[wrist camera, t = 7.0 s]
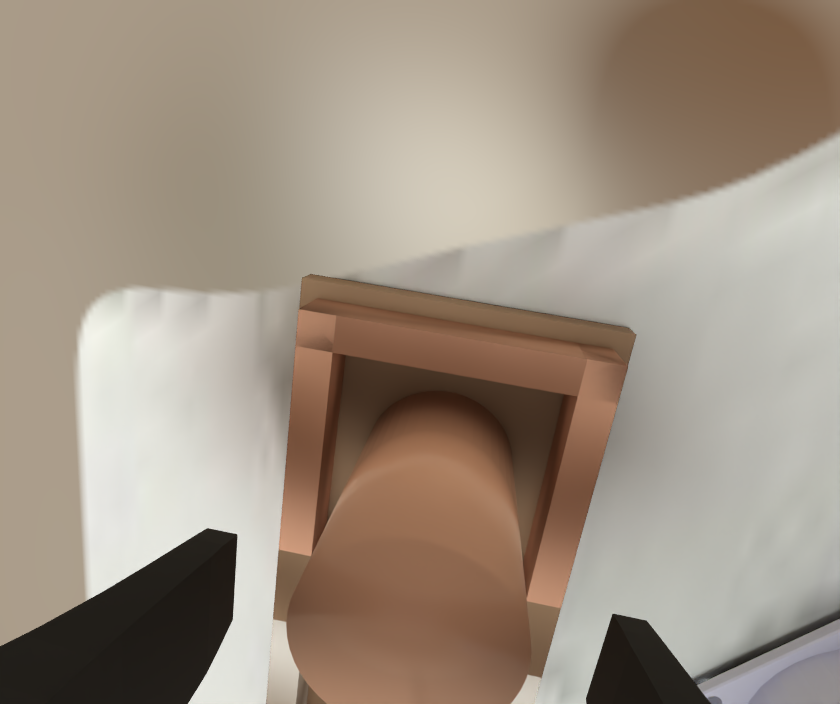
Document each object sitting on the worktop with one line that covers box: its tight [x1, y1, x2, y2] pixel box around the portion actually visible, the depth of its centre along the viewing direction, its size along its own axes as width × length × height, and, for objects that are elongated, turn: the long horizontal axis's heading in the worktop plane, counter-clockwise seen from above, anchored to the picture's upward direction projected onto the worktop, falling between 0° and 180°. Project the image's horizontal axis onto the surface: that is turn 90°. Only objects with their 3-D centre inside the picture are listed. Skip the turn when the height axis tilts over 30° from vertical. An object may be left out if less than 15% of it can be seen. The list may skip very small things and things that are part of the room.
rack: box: [266, 274, 636, 704], centre depth 17 cm, size 18×9×2 cm, turn 171°
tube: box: [286, 391, 531, 704], centre depth 13 cm, size 4×4×7 cm
